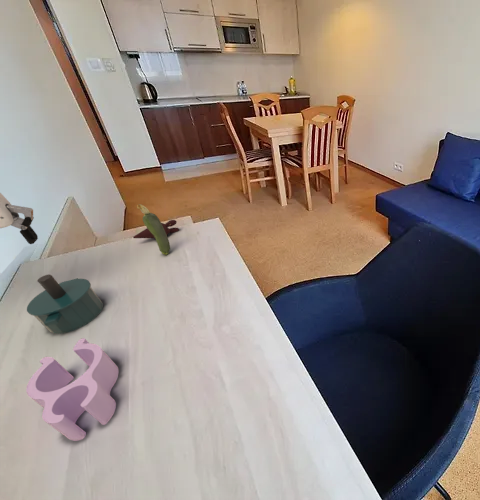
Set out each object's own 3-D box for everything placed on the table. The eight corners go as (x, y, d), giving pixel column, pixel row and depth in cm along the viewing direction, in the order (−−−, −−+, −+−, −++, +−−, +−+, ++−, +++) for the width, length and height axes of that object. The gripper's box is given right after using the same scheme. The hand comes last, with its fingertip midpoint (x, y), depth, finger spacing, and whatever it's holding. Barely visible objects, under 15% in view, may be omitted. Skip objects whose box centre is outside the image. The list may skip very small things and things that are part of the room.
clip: (131, 408, 60) (113, 389, 56) (54, 458, 54) (27, 441, 50) (112, 350, 73) (96, 331, 69) (47, 385, 66) (25, 366, 62)
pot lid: (19, 325, 73) (-3, 304, 69) (41, 291, 83) (23, 271, 79) (84, 306, 76) (66, 285, 72) (97, 276, 87) (83, 256, 83)
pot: (37, 349, 75) (15, 329, 71) (62, 303, 89) (45, 284, 84) (94, 331, 78) (77, 311, 74) (110, 289, 92) (96, 270, 88)
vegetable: (173, 249, 108) (147, 198, 97) (177, 253, 106) (151, 202, 94) (160, 254, 106) (132, 203, 94) (164, 259, 103) (136, 207, 92)
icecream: (132, 236, 105) (178, 223, 113) (127, 224, 109) (172, 213, 117) (138, 250, 110) (182, 237, 118) (134, 238, 114) (177, 226, 122)
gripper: (-111, 196, 61) (-43, 263, 71) (-4, 179, 66) (46, 244, 76) (-83, 184, 67) (-24, 247, 77) (13, 169, 72) (57, 231, 81)
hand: (10, 246), depth 76 cm, fingers open, 9 cm apart
